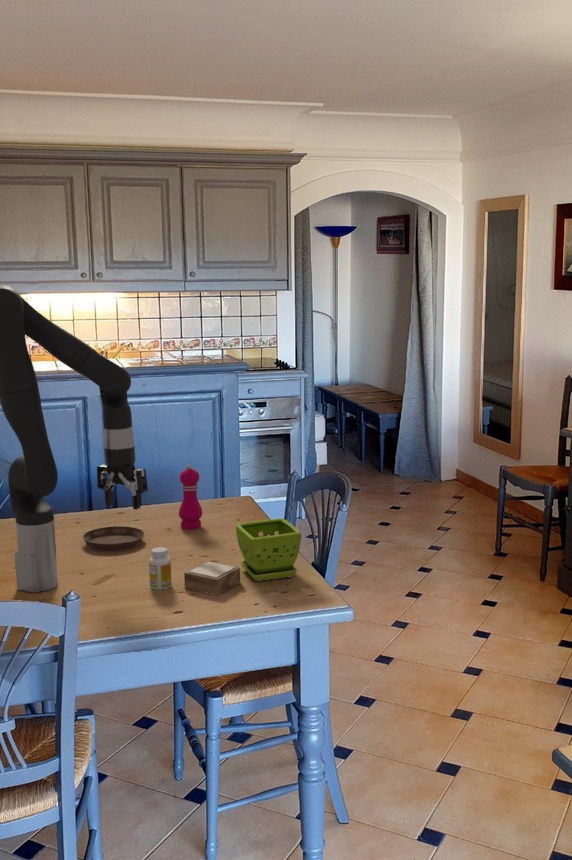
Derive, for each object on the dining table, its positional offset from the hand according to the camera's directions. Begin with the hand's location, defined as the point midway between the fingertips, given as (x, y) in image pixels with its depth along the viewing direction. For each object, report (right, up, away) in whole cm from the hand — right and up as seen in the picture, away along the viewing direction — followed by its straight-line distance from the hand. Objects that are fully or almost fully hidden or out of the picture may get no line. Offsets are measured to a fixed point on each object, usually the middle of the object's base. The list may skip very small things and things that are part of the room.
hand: (123, 506), depth 220 cm
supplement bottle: (+10, -20, -2) cm, 22 cm away
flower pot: (+37, -18, +6) cm, 42 cm away
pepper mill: (+12, -11, +48) cm, 50 cm away
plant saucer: (-9, -14, +32) cm, 36 cm away
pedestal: (+23, -20, -2) cm, 30 cm away
